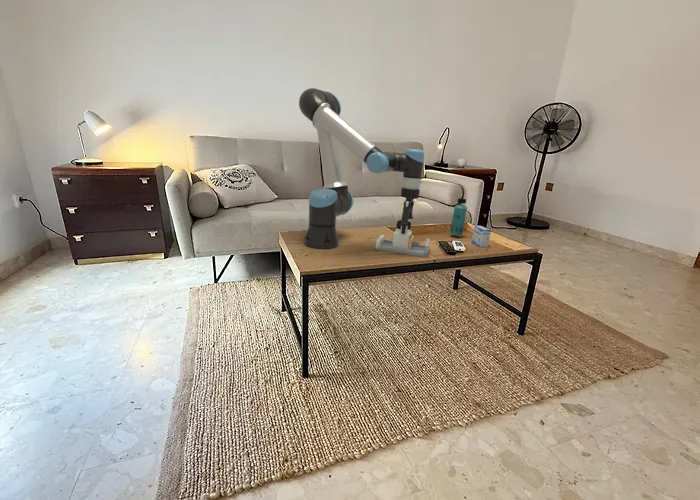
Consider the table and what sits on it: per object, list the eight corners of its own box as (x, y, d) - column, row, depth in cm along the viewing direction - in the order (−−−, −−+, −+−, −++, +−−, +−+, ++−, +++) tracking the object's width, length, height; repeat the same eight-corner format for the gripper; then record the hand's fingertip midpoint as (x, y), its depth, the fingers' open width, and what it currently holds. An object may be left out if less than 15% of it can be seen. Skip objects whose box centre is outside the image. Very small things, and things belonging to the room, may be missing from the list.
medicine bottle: (408, 250, 148) (411, 223, 144) (391, 248, 149) (394, 221, 146) (410, 246, 154) (413, 220, 150) (394, 244, 156) (397, 218, 152)
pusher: (408, 250, 147) (409, 239, 145) (410, 245, 155) (411, 234, 153) (417, 252, 146) (419, 240, 144) (419, 246, 154) (420, 236, 152)
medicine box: (470, 242, 171) (473, 225, 168) (479, 242, 172) (482, 225, 169) (479, 247, 163) (483, 229, 161) (488, 247, 164) (491, 229, 162)
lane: (375, 250, 149) (376, 239, 147) (380, 242, 160) (381, 232, 158) (426, 257, 144) (428, 246, 142) (428, 249, 155) (430, 238, 153)
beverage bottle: (450, 234, 183) (456, 196, 177) (463, 236, 181) (469, 198, 175) (448, 237, 178) (454, 198, 172) (461, 239, 175) (468, 200, 169)
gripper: (417, 192, 131) (409, 245, 138) (422, 185, 154) (416, 231, 161) (397, 190, 133) (391, 243, 139) (405, 183, 156) (400, 229, 162)
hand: (404, 236), depth 150 cm, fingers open, 13 cm apart
